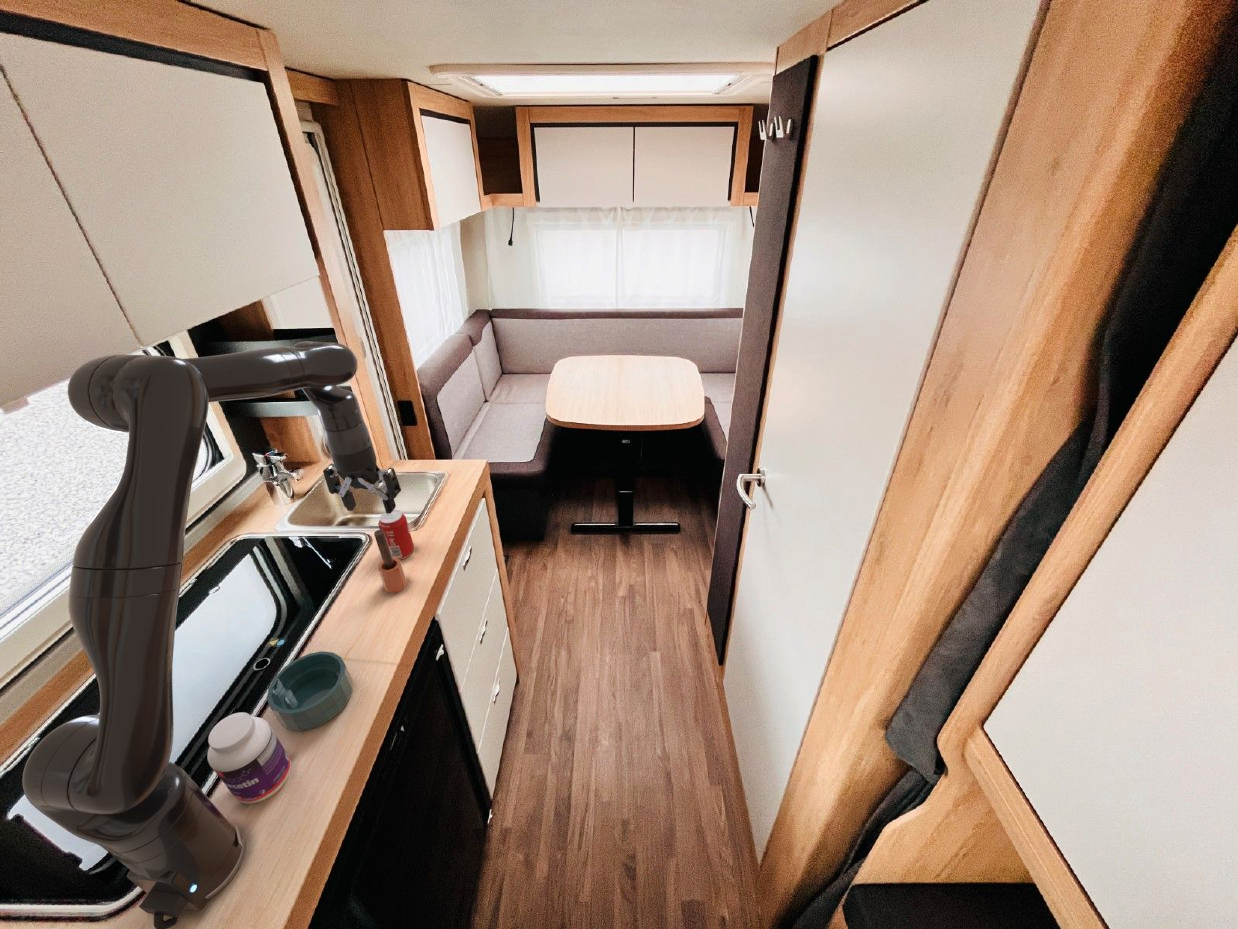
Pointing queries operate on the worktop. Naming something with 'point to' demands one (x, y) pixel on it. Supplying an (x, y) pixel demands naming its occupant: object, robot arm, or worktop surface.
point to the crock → (393, 576)
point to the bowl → (310, 690)
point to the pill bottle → (248, 757)
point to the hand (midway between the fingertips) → (371, 510)
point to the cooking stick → (384, 549)
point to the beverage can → (397, 534)
